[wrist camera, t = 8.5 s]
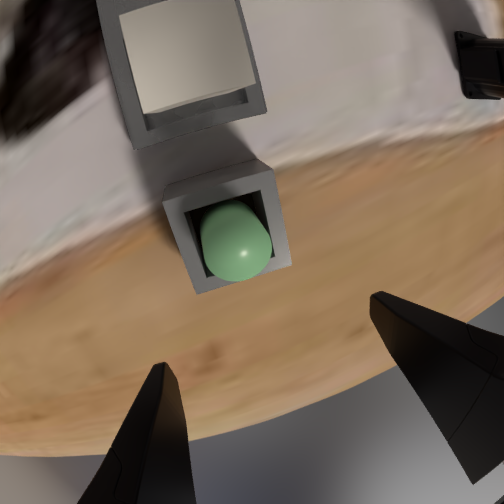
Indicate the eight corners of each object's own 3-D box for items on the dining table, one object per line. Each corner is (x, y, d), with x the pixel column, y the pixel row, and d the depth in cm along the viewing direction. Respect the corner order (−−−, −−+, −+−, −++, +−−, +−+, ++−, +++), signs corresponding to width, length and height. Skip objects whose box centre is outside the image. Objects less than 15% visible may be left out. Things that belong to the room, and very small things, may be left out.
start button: (250, 192, 17) (264, 210, 14) (262, 244, 19) (277, 269, 16) (192, 209, 17) (194, 231, 14) (209, 260, 19) (215, 289, 16)
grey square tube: (257, 158, 19) (273, 169, 16) (275, 241, 22) (291, 264, 19) (165, 185, 18) (162, 202, 15) (193, 266, 21) (196, 294, 18)
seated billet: (211, 31, 14) (231, -13, 8) (227, 93, 16) (256, 83, 9) (142, 50, 13) (118, 15, 7) (159, 112, 15) (143, 113, 9)
